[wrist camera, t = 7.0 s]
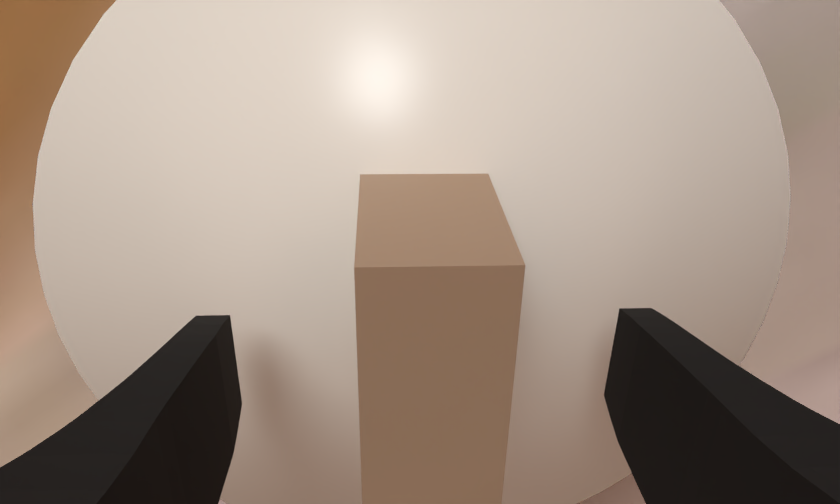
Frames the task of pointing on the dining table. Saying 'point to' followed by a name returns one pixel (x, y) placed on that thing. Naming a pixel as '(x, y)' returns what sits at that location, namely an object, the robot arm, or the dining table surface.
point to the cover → (411, 224)
